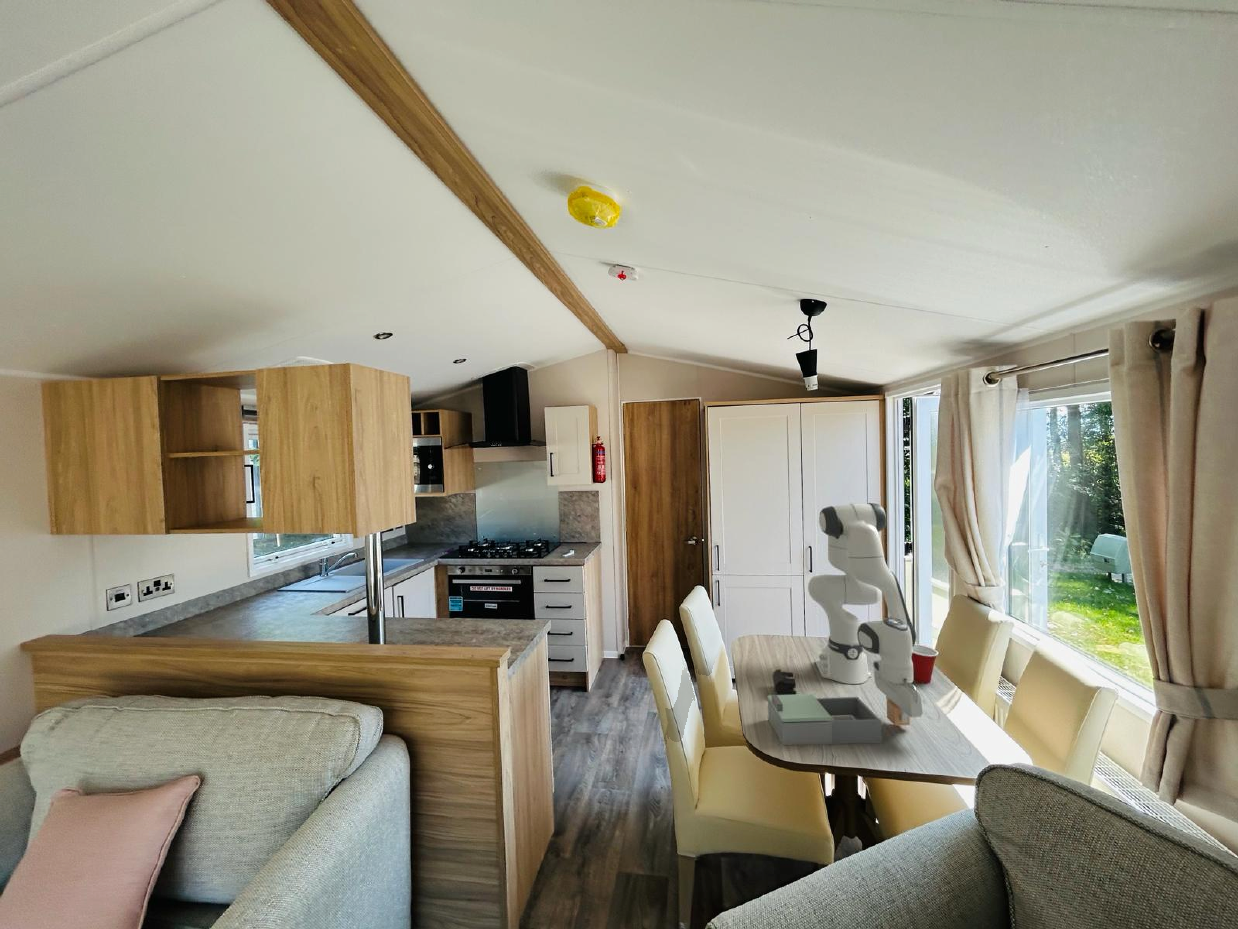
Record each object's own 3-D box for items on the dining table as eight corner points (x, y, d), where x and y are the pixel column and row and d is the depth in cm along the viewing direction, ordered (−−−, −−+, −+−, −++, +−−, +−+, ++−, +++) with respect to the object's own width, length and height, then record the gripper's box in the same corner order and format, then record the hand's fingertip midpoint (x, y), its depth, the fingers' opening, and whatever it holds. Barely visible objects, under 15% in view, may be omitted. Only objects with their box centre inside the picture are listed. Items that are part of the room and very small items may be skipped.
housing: (768, 719, 161) (767, 699, 161) (858, 716, 161) (857, 697, 161) (782, 745, 146) (782, 723, 146) (881, 742, 146) (880, 720, 146)
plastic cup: (942, 688, 178) (941, 655, 178) (908, 684, 182) (907, 652, 182) (935, 675, 188) (934, 644, 188) (903, 672, 192) (902, 641, 192)
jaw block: (887, 717, 156) (886, 700, 156) (901, 717, 156) (900, 700, 156) (895, 725, 152) (894, 708, 152) (909, 725, 152) (909, 707, 152)
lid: (767, 698, 161) (767, 688, 161) (812, 697, 161) (812, 687, 161) (782, 722, 146) (781, 711, 146) (831, 720, 146) (831, 710, 146)
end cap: (772, 686, 184) (772, 668, 184) (792, 687, 183) (792, 669, 183) (775, 699, 175) (774, 680, 175) (796, 700, 173) (795, 681, 173)
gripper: (928, 687, 143) (929, 734, 144) (888, 658, 164) (889, 699, 164) (906, 688, 143) (907, 735, 144) (870, 659, 164) (871, 700, 164)
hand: (897, 716), depth 154 cm, fingers closed on jaw block, 4 cm apart
